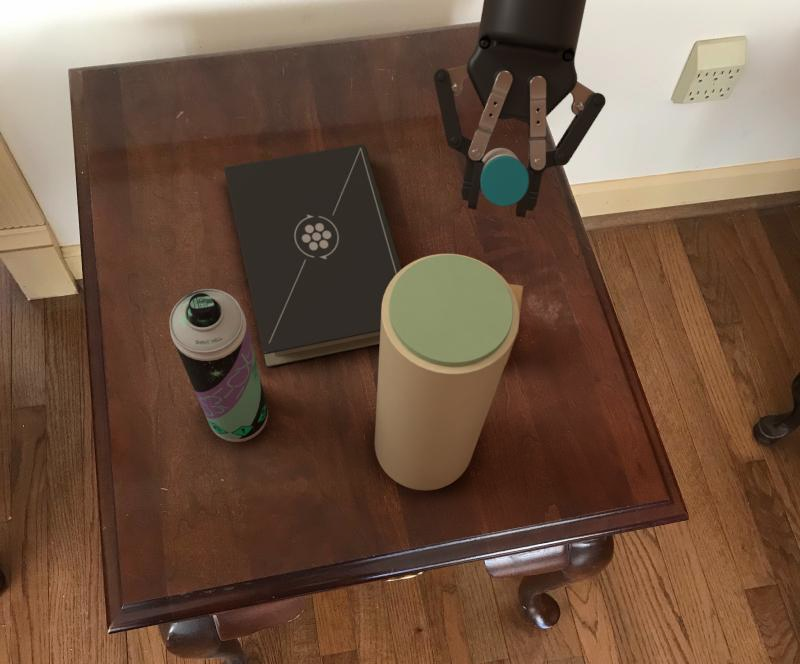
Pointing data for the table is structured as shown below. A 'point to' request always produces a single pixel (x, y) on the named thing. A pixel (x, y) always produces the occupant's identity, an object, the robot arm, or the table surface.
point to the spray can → (220, 363)
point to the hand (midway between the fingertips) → (496, 210)
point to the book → (313, 251)
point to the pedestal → (431, 405)
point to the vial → (503, 177)
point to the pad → (450, 310)
